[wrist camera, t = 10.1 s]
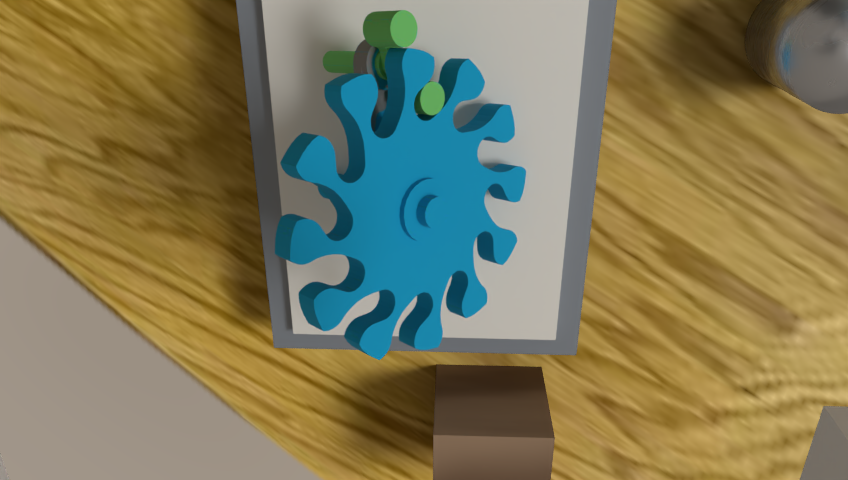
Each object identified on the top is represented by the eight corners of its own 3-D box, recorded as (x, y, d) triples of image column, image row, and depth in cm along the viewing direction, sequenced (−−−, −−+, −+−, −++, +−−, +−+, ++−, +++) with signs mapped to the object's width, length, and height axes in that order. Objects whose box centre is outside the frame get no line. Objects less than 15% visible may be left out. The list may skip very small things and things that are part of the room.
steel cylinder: (756, -25, 25) (806, -13, 22) (869, -24, 25) (937, -12, 22) (735, 85, 27) (778, 113, 24) (840, 86, 27) (899, 114, 23)
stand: (244, -117, 25) (218, -120, 22) (614, -117, 24) (633, -120, 22) (286, 316, 33) (271, 352, 30) (567, 323, 32) (577, 360, 29)
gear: (536, 313, 27) (316, 414, 20) (431, 275, 31) (221, 350, 24) (541, 6, 23) (278, 12, 17) (421, 11, 27) (176, 18, 21)
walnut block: (436, 363, 33) (433, 435, 29) (541, 365, 33) (554, 438, 29) (435, 444, 36) (432, 522, 31) (534, 447, 35) (545, 525, 31)
